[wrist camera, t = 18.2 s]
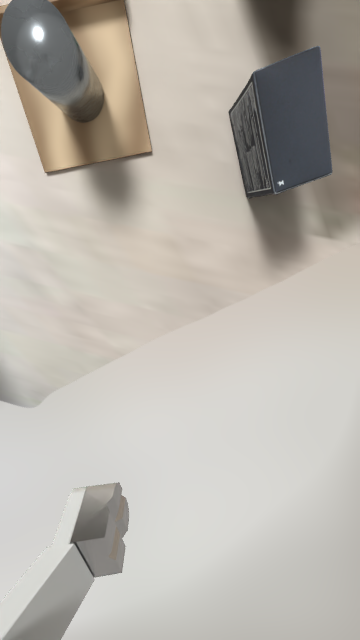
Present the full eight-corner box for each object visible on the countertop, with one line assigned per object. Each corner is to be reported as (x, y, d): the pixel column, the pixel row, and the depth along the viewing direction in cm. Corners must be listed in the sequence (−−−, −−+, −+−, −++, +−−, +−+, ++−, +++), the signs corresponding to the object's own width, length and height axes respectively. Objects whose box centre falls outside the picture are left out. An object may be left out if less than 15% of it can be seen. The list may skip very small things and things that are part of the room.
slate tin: (65, 126, 33) (18, 92, 23) (48, 69, 31) (-12, 2, 20) (109, 117, 32) (81, 78, 22) (95, 59, 30) (58, -14, 20)
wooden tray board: (46, 172, 35) (38, 170, 33) (-71, -181, 24) (-93, -217, 22) (151, 151, 34) (150, 148, 32) (82, -220, 23) (74, -261, 21)
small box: (293, 182, 36) (337, 175, 27) (246, 199, 37) (272, 198, 27) (279, 89, 32) (325, 40, 23) (226, 110, 33) (250, 71, 23)
